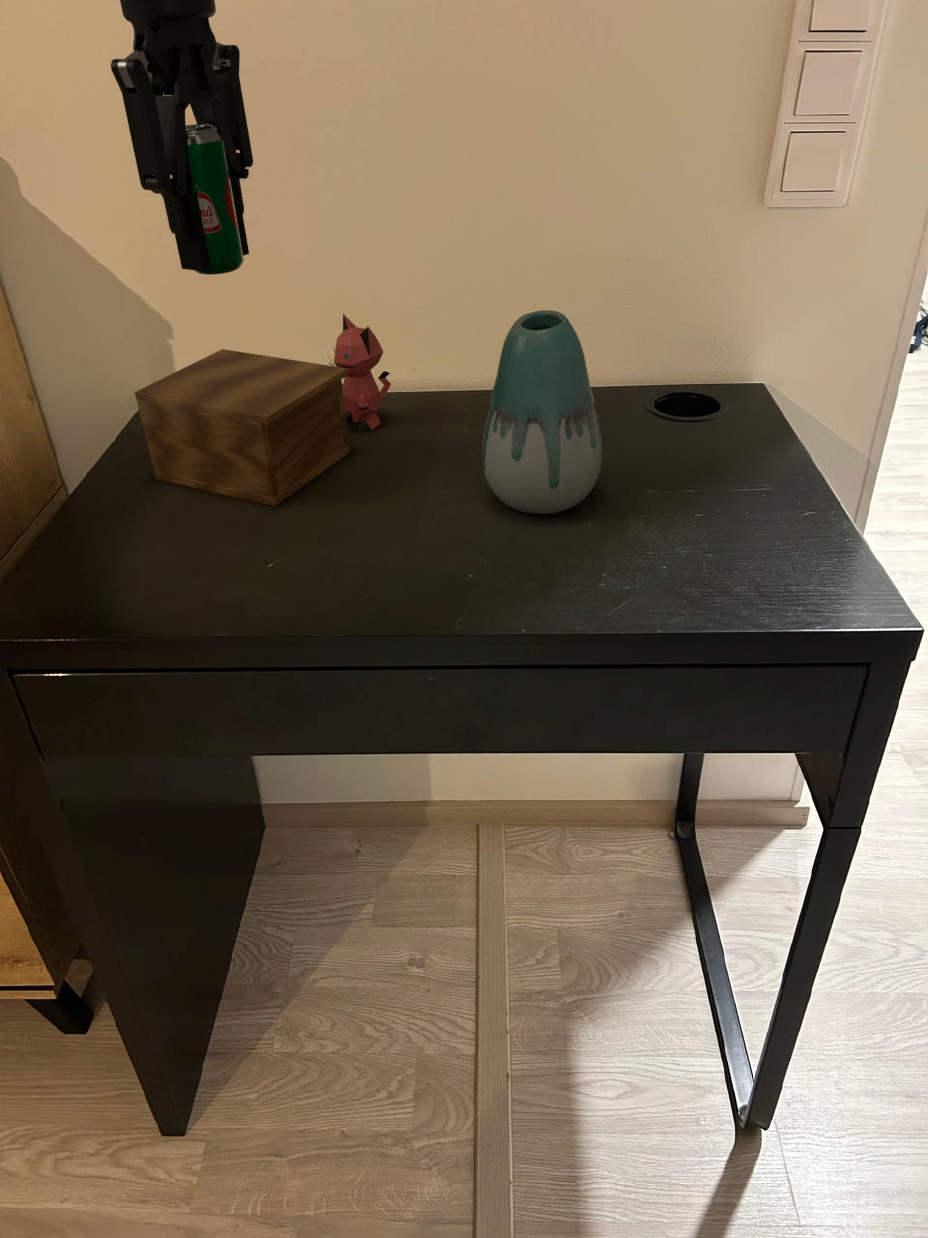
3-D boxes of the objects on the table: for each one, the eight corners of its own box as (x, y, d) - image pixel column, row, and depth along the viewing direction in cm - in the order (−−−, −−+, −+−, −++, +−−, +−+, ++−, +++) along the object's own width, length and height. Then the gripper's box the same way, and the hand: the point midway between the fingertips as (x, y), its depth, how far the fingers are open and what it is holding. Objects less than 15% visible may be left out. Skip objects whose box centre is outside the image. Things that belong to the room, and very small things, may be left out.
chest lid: (348, 375, 100) (347, 367, 100) (268, 424, 90) (266, 416, 90) (223, 355, 107) (222, 348, 106) (136, 399, 97) (134, 392, 96)
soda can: (179, 274, 89) (150, 131, 82) (211, 260, 93) (185, 122, 86) (225, 277, 88) (198, 132, 81) (255, 263, 91) (232, 123, 85)
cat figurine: (326, 419, 113) (313, 318, 107) (377, 405, 116) (367, 305, 110) (354, 438, 109) (342, 334, 102) (406, 423, 111) (397, 320, 105)
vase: (512, 537, 88) (509, 347, 78) (465, 486, 97) (457, 310, 87) (622, 511, 92) (633, 325, 82) (567, 464, 101) (571, 291, 91)
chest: (350, 452, 106) (341, 374, 101) (275, 506, 96) (260, 423, 91) (237, 430, 112) (223, 356, 107) (156, 479, 102) (136, 400, 97)
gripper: (199, -40, 85) (245, 235, 98) (39, -33, 72) (117, 283, 85) (266, -44, 82) (304, 240, 95) (112, -37, 69) (181, 291, 82)
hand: (216, 260), depth 90 cm, fingers closed on soda can, 5 cm apart
